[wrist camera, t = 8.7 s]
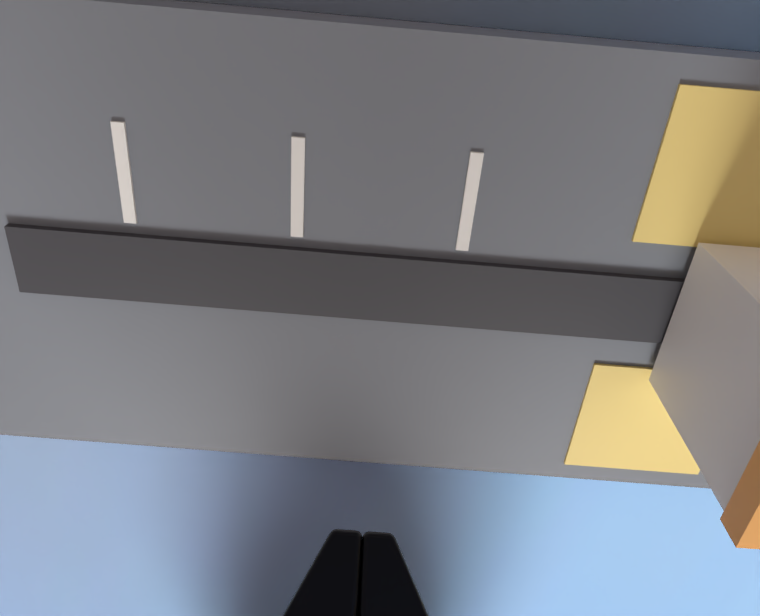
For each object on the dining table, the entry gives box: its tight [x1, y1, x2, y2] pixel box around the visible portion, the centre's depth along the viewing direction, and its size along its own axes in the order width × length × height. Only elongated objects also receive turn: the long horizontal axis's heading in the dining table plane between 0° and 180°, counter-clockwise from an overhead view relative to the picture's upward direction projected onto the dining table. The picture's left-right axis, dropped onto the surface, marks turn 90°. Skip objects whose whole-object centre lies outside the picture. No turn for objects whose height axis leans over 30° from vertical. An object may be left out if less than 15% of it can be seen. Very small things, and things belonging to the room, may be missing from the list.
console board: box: [0, 0, 760, 488], centre depth 16 cm, size 12×26×2 cm, turn 86°
